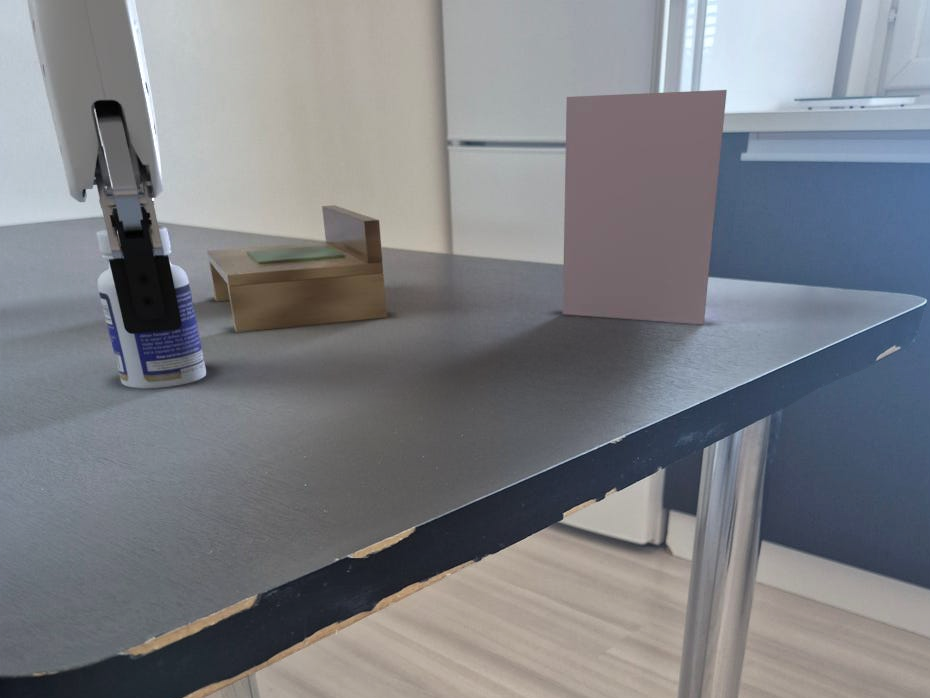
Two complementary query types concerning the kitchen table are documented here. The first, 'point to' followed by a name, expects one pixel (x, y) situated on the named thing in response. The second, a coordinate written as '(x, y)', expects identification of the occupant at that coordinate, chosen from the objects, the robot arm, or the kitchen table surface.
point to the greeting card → (641, 204)
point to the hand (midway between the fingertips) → (151, 318)
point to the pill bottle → (153, 333)
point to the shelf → (305, 277)
